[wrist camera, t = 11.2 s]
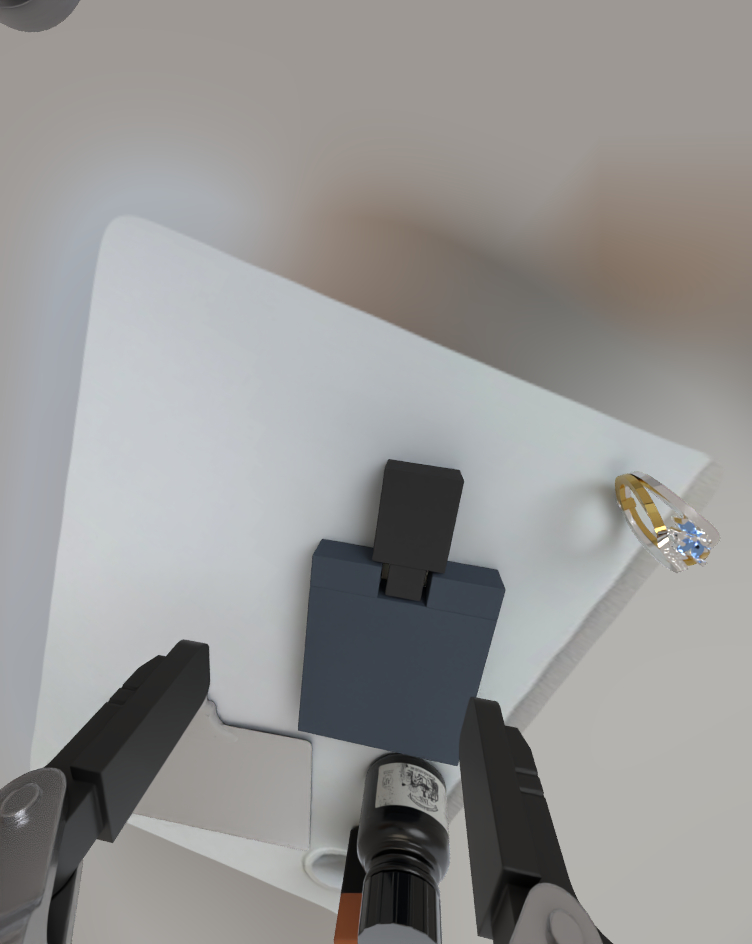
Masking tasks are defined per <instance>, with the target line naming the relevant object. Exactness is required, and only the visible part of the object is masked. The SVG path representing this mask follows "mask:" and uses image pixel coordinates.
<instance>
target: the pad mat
mask: <svg viewBox="0 0 752 944" xmlns="http://www.w3.org/2000/svg"><path fill="white" fill-rule="evenodd" d="M373 549H374V548H371V547H365V546H359V545H354V544H348V543H342V542H337V541H331V540H325V539H322V540H321V542H320V544H319V545H318V547H317V549H316V550H315V552H314V554H313V556H312V568H311V580H310V593H309V604H308V616H307V628H306V640H305V652H304V663H303V675H302V687H301V699H300V710H299V722H298V730H299V731H303V732H307V733H312V734H316V735H321V736H325V737H330V738H334V739H338V740H343V741H347V742H352V743H356V744H361V745H365V746H370V747H374V748H378V749H383V750H387V751H392V752H396V753H401V754H405V755H410V756H414V757H418V758H423V759H427V760H432V761H436V762H441V763H445V764H450V765H454V766H458V762H459V740H460V733H461V729H462V725H463V722H464V718H465V714H466V710H467V706H468V702H469V699H470V697H476V696H477V692H478V689H479V685H480V681H481V678H482V674H483V670H484V667H485V663H486V659H487V656H488V652H489V648H490V645H491V641H492V637H493V634H494V630H495V626H496V622H497V619H498V616H499V612H500V608H501V604H502V601H503V597H504V593H505V587H504V585H503V582H502V580H501V577H500V575H499V572H498V570H495V569H489V568H484V567H478V566H472V565H467V564H461V563H455V562H450V561H447V565H446V569H445V573H439V572H433V571H429V573H428V578H427V583H426V587H423V589H422V595H421V600H420V601H416V600H411V599H405V598H400V597H395V596H389V595H385V591H386V585H387V580H385V579H381V574H382V568H383V562H378V561H373V560H372V556H373Z"/></svg>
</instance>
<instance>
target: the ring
mask: <svg viewBox="0 0 752 944" xmlns="http://www.w3.org/2000/svg"><path fill="white" fill-rule="evenodd" d="M645 488H646V489H647V490H648V491H650V492H651V493H652V494H654V495H655V496H656V497H657V498H659V499H660V500H661V501H662V502H664V503H665V504H666V505H667V506H669V507H670V508H671V509H672V510H674V511H675V512H676V513H677V514H678V515H680V516H681V517H678V516H672V521H673V522H674V523H675V525H676V527H675V526H671V527H665V525H664V523H663V521H662V518H661V516H660V514H659V512H658V510H657V508H656V506H655V504H654V503H653V501H652V499H651V497H650V496H649V494H648V493H647V491H646V490H645ZM630 489H631V490H632V492H633V493H634V495H635V496H636V498H637V499H638V501H639V502H640V504H641V505H642V507H643V508H644V510H645V512H646V513H647V515H648V516H649V518H650V519H651V521H652V523H653V526H654V528H655V531H656V534H657V538H656V537H655V536H654V535H653V534H652V533H651V532H650V531H649V530H648V529H647V528H646V526H645V525H644V524H643V522H642V521H641V519H640V517H639V516H638V514H637V512H636V509H635V507H636V503H635V501H634V499H633V498H631V493H630ZM615 491H616V496H617V498H616V503H617V505H618V507H619V508H620V509H621V511H622V514H623V516H624V518H625V520H626V522H627V524H628V525H629V527H630V529H631V530H632V532H633V533H634V535H635V536H636V538H637V539H638V540H639V542H640V543H641V544H642V545H643V547H644V548H645V549H646V550H647V551H648V552H649V553H650V554H651V555H652V556H653V557H654V558H655V559H656V560H657V561H658V562H659V563H660V564H662V565H663V566H665V567H666V568H668V569H670V570H671V571H673V572H676V573H678V572H681V571H684V570H687V569H688V566H689V565H694V564H697V563H698V564H699V565H701V566H704V565H706V563H707V562H705V561H704V560H705V559H706V558H707V557H708V555H709V553H710V550H711V549H712V548H714V547H715V546H716V545H717V544H718V543H719V541H720V534H719V532H718V531H717V529H716V528H715V527H714V526H713V525H712V524H711V523H710V522H709V521H708V520H706V519H705V518H704V517H703V516H702V515H700V514H699V513H698V512H697V511H696V510H694V509H693V508H692V507H691V506H690V505H689V504H687V503H686V502H685V501H684V500H682V499H681V498H680V497H679V496H677V495H676V494H675V493H674V492H672V491H671V490H670V489H668V488H667V487H666V486H664V485H663V484H661V483H660V482H658V481H657V480H655V479H654V478H652V477H651V476H649V475H647V474H645V473H642V472H639V471H634V472H630V473H627V474H623V475H620V476H618V477H617V478H616V480H615ZM668 535H669V536H670V538H669V540H670V541H672V542H674V543H673V546H670V544H669V541H668Z"/></svg>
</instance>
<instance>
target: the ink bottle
mask: <svg viewBox="0 0 752 944" xmlns="http://www.w3.org/2000/svg"><path fill="white" fill-rule="evenodd" d="M357 854H358V858H359V861H360V863H361V865H362V867H363V868H364V870H365V872H366V876H365V878H364V885H363V893H362V902H361V911H360V920H359V929H358V942H357V944H442V927H441V925H442V924H441V901H440V890H439V887H438V885H439V883H440V882H441V881H442V880H443V878H444V877H445V875H446V874H447V871H448V868H449V864H450V845H449V828H448V812H447V796H446V786H445V782H444V780H443V778H442V776H441V774H440V773H439V772H438V771H437V770H436V769H435V768H434V767H433V766H431V765H430V764H429V763H427V762H425V761H423V760H421V759H419V758H417V757H414V756H410V755H405V754H393V755H388V756H385V757H383V758H381V759H379V760H378V761H376V762H375V763H374V764H373V765H372V766H371V767H370V769H369V770H368V772H367V775H366V780H365V787H364V794H363V801H362V809H361V816H360V824H359V831H358V839H357Z"/></svg>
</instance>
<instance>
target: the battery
mask: <svg viewBox="0 0 752 944" xmlns="http://www.w3.org/2000/svg"><path fill="white" fill-rule="evenodd" d="M358 831H359V828H357V829H352V830H351V832H350V838H349V844H348V851H347V857H346V864H345V870H344V877H343V884H342V890H341V897H340V903H339V910H338V916H337V923H336V930H335V936H334V944H357V942H358V929H359V920H360V911H361V902H362V893H363V885H364V878H365V876H366V872H365V870H364V868H363V867H362V865H361V863H360V861H359V858H358V854H357V839H358Z"/></svg>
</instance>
